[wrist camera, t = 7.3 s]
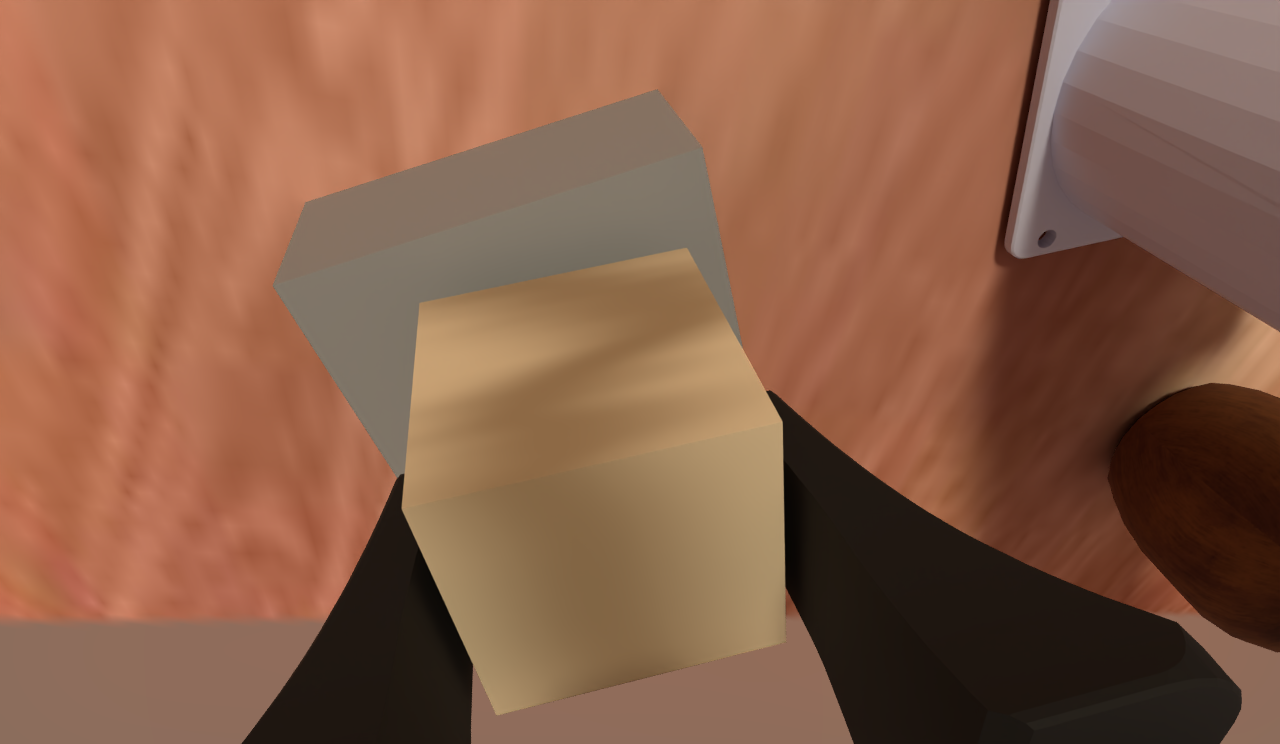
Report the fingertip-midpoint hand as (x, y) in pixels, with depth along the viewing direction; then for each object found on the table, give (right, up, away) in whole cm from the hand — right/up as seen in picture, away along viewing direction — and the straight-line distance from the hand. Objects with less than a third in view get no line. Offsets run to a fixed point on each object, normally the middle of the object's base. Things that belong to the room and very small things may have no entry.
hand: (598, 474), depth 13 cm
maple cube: (0, +2, +2) cm, 2 cm away
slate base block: (-2, +4, +6) cm, 7 cm away
